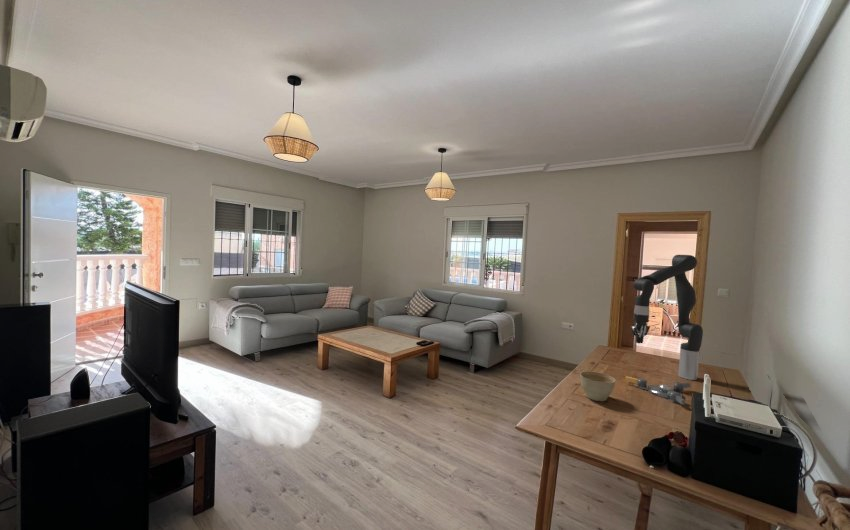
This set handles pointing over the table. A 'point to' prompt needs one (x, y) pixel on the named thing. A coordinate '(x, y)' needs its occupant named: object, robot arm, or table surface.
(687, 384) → the grey bar with ball
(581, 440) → the table surface
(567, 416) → the table surface
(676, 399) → the knob
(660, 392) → the base
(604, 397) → the planter bowl
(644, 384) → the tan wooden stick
